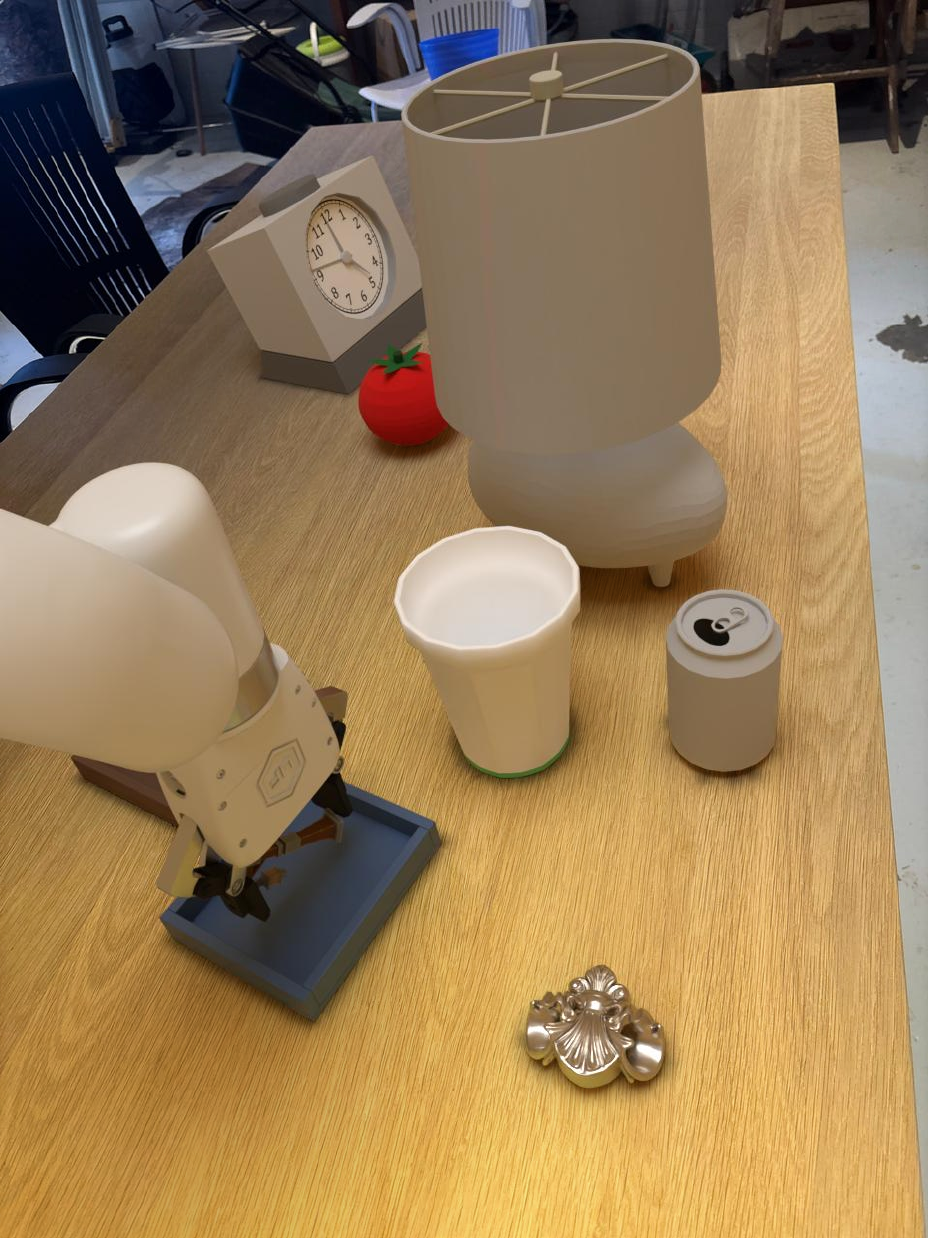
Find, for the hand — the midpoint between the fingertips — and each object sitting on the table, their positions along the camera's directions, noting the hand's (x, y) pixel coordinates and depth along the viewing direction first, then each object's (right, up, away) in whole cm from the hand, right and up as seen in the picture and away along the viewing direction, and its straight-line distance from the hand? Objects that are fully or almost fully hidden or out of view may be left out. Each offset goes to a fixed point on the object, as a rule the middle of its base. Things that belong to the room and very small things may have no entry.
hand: (293, 856), depth 68 cm
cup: (+15, +7, +10) cm, 19 cm away
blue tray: (+1, -3, +3) cm, 4 cm away
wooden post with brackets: (0, -1, +1) cm, 1 cm away
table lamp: (+23, +20, +23) cm, 38 cm away
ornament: (+19, -9, -8) cm, 22 cm away
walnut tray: (-10, +6, +15) cm, 19 cm away
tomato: (+6, +35, +43) cm, 56 cm away
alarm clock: (-4, +50, +62) cm, 80 cm away
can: (+30, +7, +7) cm, 32 cm away
